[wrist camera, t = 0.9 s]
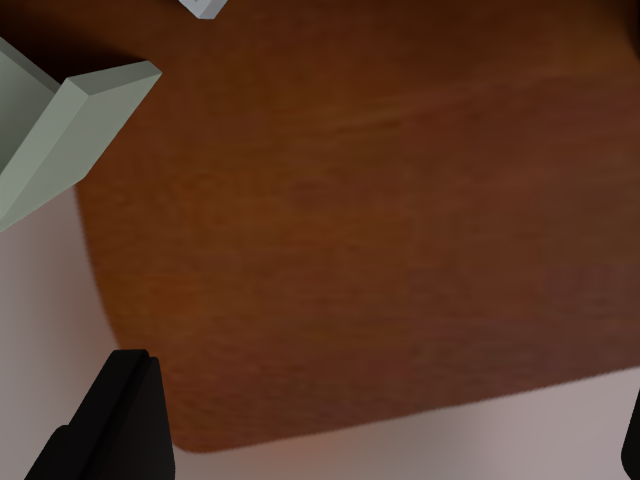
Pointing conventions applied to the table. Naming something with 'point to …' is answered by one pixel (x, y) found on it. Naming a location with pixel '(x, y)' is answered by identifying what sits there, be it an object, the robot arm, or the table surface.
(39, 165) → the shelf slot
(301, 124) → the table surface
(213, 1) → the tray
